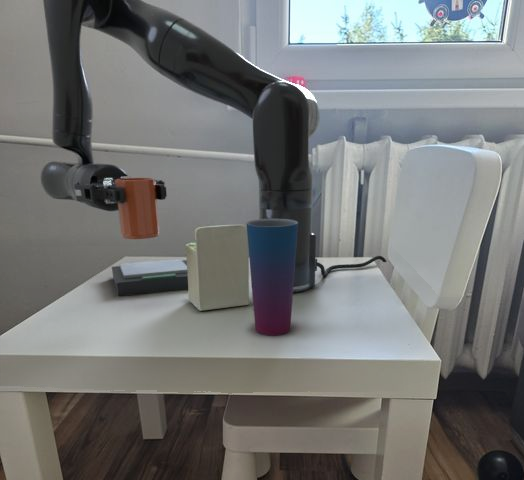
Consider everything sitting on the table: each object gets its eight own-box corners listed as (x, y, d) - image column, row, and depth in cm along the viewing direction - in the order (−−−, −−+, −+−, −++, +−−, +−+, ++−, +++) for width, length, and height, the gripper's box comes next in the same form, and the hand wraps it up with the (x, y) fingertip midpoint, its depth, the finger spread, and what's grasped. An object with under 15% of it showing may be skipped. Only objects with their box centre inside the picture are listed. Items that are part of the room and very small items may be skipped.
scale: (187, 271, 103) (186, 257, 102) (201, 287, 92) (200, 271, 91) (113, 278, 99) (111, 263, 98) (118, 296, 88) (116, 279, 86)
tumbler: (156, 231, 82) (151, 176, 79) (162, 237, 77) (157, 179, 73) (119, 234, 80) (113, 178, 77) (123, 240, 75) (116, 181, 72)
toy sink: (234, 293, 88) (232, 217, 83) (250, 305, 82) (248, 224, 77) (187, 299, 85) (182, 221, 80) (200, 312, 79) (194, 228, 73)
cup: (300, 323, 73) (302, 219, 68) (290, 339, 67) (291, 227, 62) (256, 319, 75) (254, 217, 69) (242, 335, 69) (239, 225, 63)
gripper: (55, 165, 81) (92, 169, 69) (137, 162, 89) (184, 165, 77) (62, 212, 84) (100, 224, 72) (141, 205, 92) (187, 215, 80)
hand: (143, 193), depth 74 cm, fingers closed on tumbler, 6 cm apart
